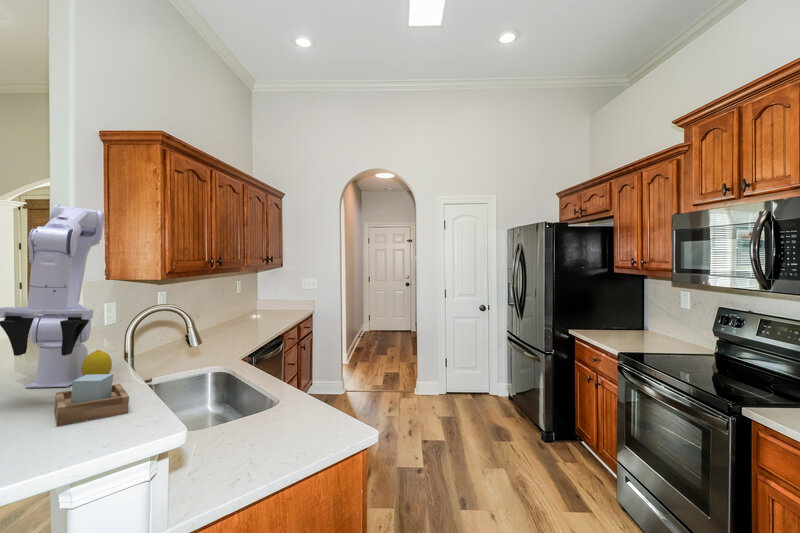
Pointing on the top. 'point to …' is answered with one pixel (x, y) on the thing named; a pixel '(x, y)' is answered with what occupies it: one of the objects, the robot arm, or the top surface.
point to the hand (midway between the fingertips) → (43, 354)
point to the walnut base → (90, 407)
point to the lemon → (97, 363)
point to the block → (91, 388)
